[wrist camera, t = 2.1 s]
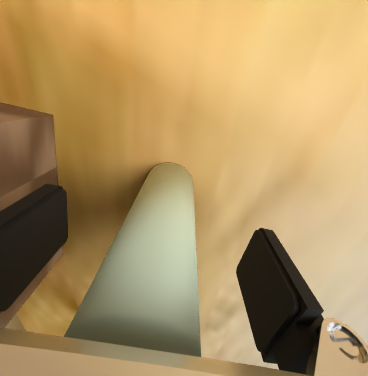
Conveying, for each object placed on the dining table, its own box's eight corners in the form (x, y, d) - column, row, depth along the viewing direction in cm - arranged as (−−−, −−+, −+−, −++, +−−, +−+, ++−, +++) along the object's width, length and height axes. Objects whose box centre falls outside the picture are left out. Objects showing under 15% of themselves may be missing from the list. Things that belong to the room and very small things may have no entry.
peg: (150, 157, 13) (57, 302, 4) (198, 168, 13) (218, 328, 4) (143, 199, 14) (65, 376, 5) (187, 209, 15) (183, 391, 6)
